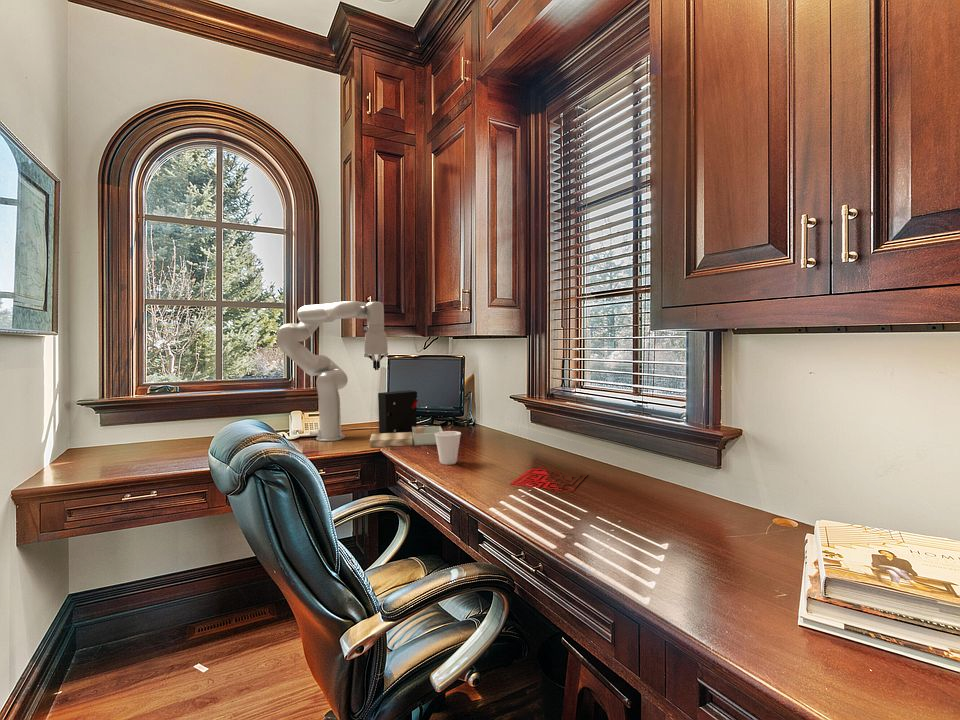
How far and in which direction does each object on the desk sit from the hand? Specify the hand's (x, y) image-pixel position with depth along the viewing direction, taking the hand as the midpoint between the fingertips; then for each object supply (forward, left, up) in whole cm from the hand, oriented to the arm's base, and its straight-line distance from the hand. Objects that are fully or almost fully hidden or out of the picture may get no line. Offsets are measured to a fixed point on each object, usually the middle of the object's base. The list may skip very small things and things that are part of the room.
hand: (376, 369), depth 229 cm
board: (+6, -7, -32) cm, 34 cm away
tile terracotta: (+17, -4, -29) cm, 34 cm away
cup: (+27, -49, -32) cm, 65 cm away
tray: (+22, -7, -32) cm, 40 cm away
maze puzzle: (+57, -78, -33) cm, 102 cm away
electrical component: (+9, +17, -32) cm, 38 cm away
